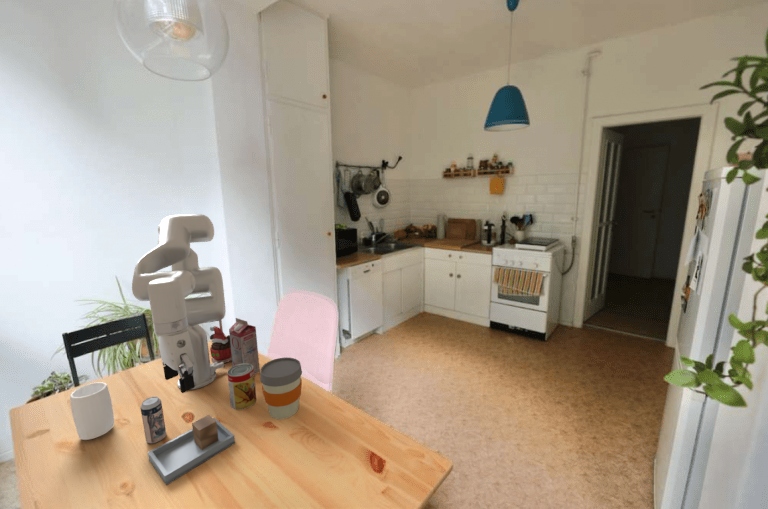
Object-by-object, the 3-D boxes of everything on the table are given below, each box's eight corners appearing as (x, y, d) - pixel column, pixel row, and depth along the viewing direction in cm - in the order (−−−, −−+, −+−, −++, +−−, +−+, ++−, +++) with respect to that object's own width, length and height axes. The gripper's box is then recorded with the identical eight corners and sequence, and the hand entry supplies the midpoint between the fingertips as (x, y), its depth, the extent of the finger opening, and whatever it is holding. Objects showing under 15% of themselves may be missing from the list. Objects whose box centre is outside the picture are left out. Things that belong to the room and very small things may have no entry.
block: (211, 433, 95) (208, 414, 94) (218, 440, 92) (216, 421, 91) (194, 442, 92) (191, 423, 90) (201, 450, 89) (199, 430, 88)
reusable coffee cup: (265, 428, 98) (261, 382, 95) (261, 403, 109) (258, 362, 106) (307, 416, 103) (305, 372, 100) (300, 394, 114) (297, 353, 111)
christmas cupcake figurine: (242, 355, 142) (238, 315, 139) (228, 366, 133) (223, 324, 130) (221, 352, 144) (216, 313, 141) (205, 363, 135) (200, 321, 132)
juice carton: (244, 380, 123) (239, 324, 119) (233, 374, 127) (228, 320, 122) (259, 371, 129) (254, 318, 124) (248, 367, 132) (243, 315, 128)
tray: (215, 424, 100) (214, 417, 99) (235, 443, 92) (234, 435, 92) (149, 460, 87) (147, 452, 86) (166, 485, 79) (164, 476, 79)
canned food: (260, 401, 110) (257, 368, 108) (237, 413, 105) (233, 378, 102) (249, 392, 116) (246, 360, 113) (226, 402, 110) (223, 369, 108)
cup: (123, 427, 99) (115, 384, 96) (90, 447, 91) (81, 401, 89) (103, 421, 102) (95, 379, 99) (71, 440, 94) (61, 395, 91)
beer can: (156, 446, 92) (150, 407, 89) (142, 443, 92) (135, 405, 90) (170, 433, 96) (164, 396, 94) (156, 431, 97) (150, 394, 95)
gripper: (201, 328, 84) (209, 388, 88) (172, 312, 94) (180, 367, 98) (169, 339, 78) (178, 403, 82) (141, 321, 88) (151, 379, 92)
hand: (179, 383), depth 90 cm, fingers open, 9 cm apart
